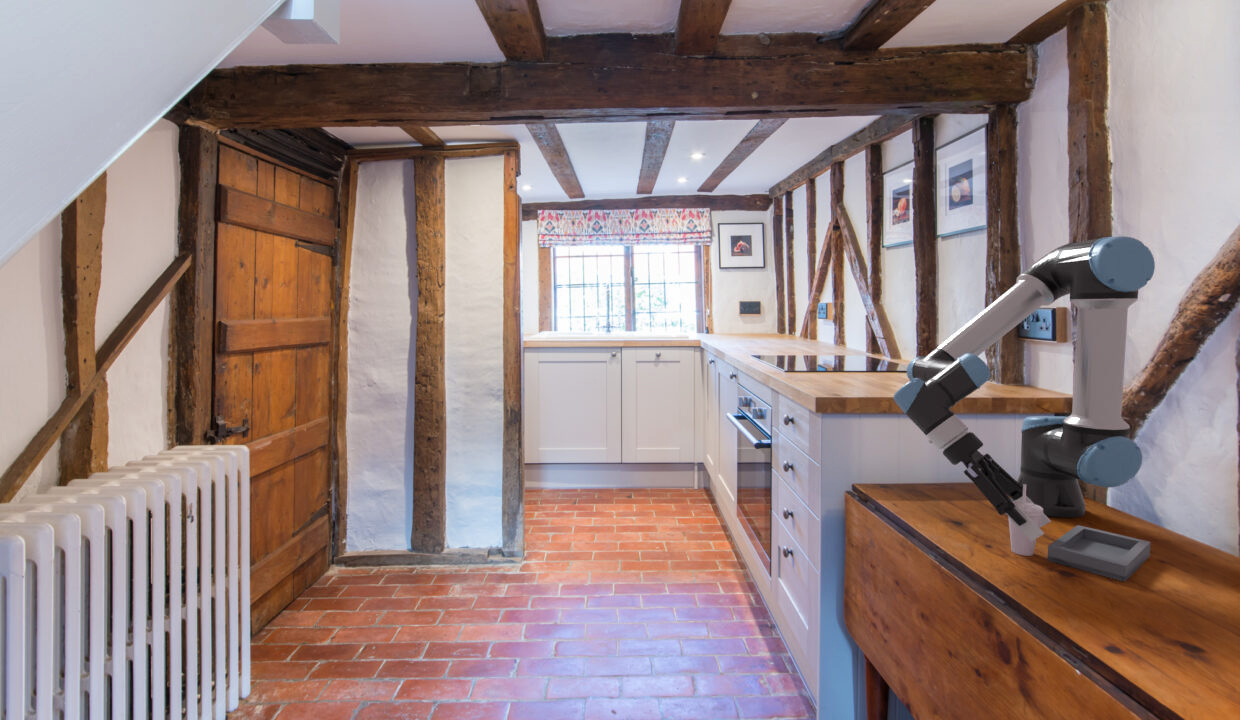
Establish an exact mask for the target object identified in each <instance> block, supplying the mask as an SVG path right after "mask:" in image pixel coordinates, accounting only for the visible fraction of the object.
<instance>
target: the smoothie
mask: <svg viewBox="0 0 1240 720" xmlns="http://www.w3.org/2000/svg"><path fill="white" fill-rule="evenodd" d="M1012 502H1013V503H1014V505H1015V506H1017V505H1018V506H1019V507H1020V508H1021V509H1022V510H1023V511H1024V512H1025V513H1026V515H1027V516H1028V517H1029V518H1030V519H1031V520H1032V521H1033V522H1034V523H1035V524H1036V525H1037V526H1038V527H1039V524H1040V519H1041V515H1043V514H1044V513H1043V508H1042V507H1041V506H1039V505H1036V504H1032V503H1028V502H1026V484H1023V498H1022V502H1020V501H1012ZM1007 517H1008V516H1007ZM1007 519H1008V526H1009V527H1008V528H1009V537H1010V538H1009V539H1010V549H1011V552H1012V553H1014V554H1017V555H1019V556H1025V557H1027V556H1028V557H1030V556H1033V555H1034V552H1035V548H1036V547H1035V546H1036V543H1037V538H1036V539H1035V540H1033V541H1031V540H1030V539H1029V538H1028V537H1027V536H1026V535H1025V534H1024V533H1023V532H1022V531H1021V530H1020V529H1019V528H1018V526H1017V525H1016V524H1015V523H1014V522H1013V521H1012V520H1011V519H1010V518H1009V517H1008V518H1007Z"/></svg>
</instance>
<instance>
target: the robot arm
mask: <svg viewBox="0 0 1240 720" xmlns="http://www.w3.org/2000/svg"><path fill="white" fill-rule="evenodd" d="M1155 263H1156V262H1155V258H1154V255H1153V253H1152V251H1151V250H1150V248H1149V247H1148V246H1146V245H1145V244H1144V243H1143V241H1141V240H1139V239H1138V238H1134V237H1131V236H1127V235H1126V236H1124V235H1123V236H1122V235H1120V236H1107V237H1104V236H1103V237H1102V238H1101V237H1100V238H1094V239H1088V240H1083V241H1074V242H1070V243H1067V244H1064V245H1061V246H1058V247H1056V248H1054V250H1052V251H1050V252H1048V253H1047V254H1045V255H1044V256H1043V257H1041V258H1040V259H1039V260H1037V261H1036V262H1035V263H1033V264H1032V265H1030V266H1029V267H1028V268H1026V269H1025V270H1024V271H1023V272H1022V273H1021V274H1019V275H1018V276H1017V277H1016V282H1015V284H1014V285H1012V286H1011V287H1010V288H1009V289H1008V290H1007V291H1005V292H1004V293H1003V294H1002V295H1000V296H998V298H997V299H995V300H994V301H992V302H991V304H989V305H988V306H986V308H984V309H983V310H982V311H980V312H979V313H978V314H976V316H974V317H973V318H971V320H969V321H968V322H967V323H965V324H964V325H963V326H962V327H960V329H958V330H957V331H956V332H955V333H953V334H952V335H951V336H950V337H948V338H947V339H946V340H945V341H943V342H942V343H941V344H940V345H938V346H937V347H936V348H934V349H933V350H932V351H930V353H928V354H927V355H922V356H918V357H915V358H913V359H912V360H911V361H909V363H908V364H907V367H906V376H907V378H908V381H907V382H906V383H905V384H904V385H903V386H901V387H900V388H899V389H898V390H897V391H896V392H895V393H894V395H893V401H894V402H895V404H896V405H897V406H898V407H899V408H900V409H901V411H902V412H903V414H904V415H906V416H907V417H908V418H909V419H910V420H911V422H913V424H915V426H916V427H918V428H919V430H920V431H922V433H923V434H924V435H925V436H926V437H927V438H928V443H929V444H933V445H934V446H935V447H936V448H937V449H938V450H942V454H943V455H942V456H943V457H945V458H946V459H947V460H948V461H949V462H950V463H951V464H952V465H954V466H955V465H958V464H959V463H962V464H963V465H964V466H965V468H966V469H965V470H964V471H963V473H964V475H965V476H966V477H967V478H968V479H970V481H971V482H972V483H973V484H974V485H975V486H976V487H977V489H979V491H980V492H981V493H982V495H983V496H984V497H985V498H986V499H987V500H988V502H989V503H990V504H991V505H992V507H994V508H995V510H996V511H997V513H998V515H999V516H1003V515H1004V514H1005V515H1006V516H1007V517H1009V518H1010V519H1011V520H1012V521H1013V522H1014V523H1015V524H1016V525H1017V526H1018V528H1019V529H1020V530H1021V531H1022V532H1023V533H1024V534H1025V535H1026V536H1027V537H1028V538H1029V539H1030V540H1031V541H1033V540H1035V539H1036V540H1037V539H1038V538H1040V537H1042V536H1044V534H1045V532H1044V531H1043V530H1042V529H1041V528H1042V527H1043V526H1046V525H1047V524H1049V523H1050V522H1051V521H1052V520H1051V519H1050V518H1049V517H1054V518H1068V519H1069V518H1071V519H1072V518H1080V517H1082V516H1083V517H1084V516H1085V514H1086V503H1085V502H1086V501H1085V498H1084V496H1083V493H1082V490H1081V487H1080V484H1079V480H1080V481H1083V482H1084V483H1086V484H1089V485H1093V486H1098V487H1102V488H1116V487H1120V486H1122V485H1125V484H1126V483H1128V482H1129V481H1130V480H1132V479H1134V478H1135V477H1136V475H1137V474H1139V471H1140V470H1141V467H1142V464H1143V453H1142V450H1141V448H1140V446H1138V444H1137V443H1136V442H1135V441H1134V440H1132V439H1131V438H1130V429H1131V427H1130V424H1128V422H1126V421H1125V420H1124V419H1123V417H1122V408H1123V395H1124V394H1123V392H1124V379H1125V377H1124V376H1125V363H1126V362H1125V361H1126V345H1127V329H1128V328H1127V327H1128V311H1129V308H1130V307H1131V306H1132V305H1133V304H1134V303H1136V302H1137V301H1138V300H1139V290H1141V289H1142V288H1143V287H1145V286H1147V284H1148V282H1149V281H1151V280H1152V278H1153V275H1154V272H1155V270H1156V269H1155V268H1156V264H1155ZM1067 295H1069V302H1070V303H1071V304H1073V305H1074V306H1075V307H1076V309H1077V319H1076V320H1077V321H1076V335H1075V336H1076V337H1075V354H1074V356H1075V357H1074V372H1073V373H1074V374H1073V389H1072V391H1073V393H1072V409H1071V411H1072V412H1071V414H1070V415H1069V416H1062V415H1061V416H1058V415H1056V416H1055V415H1054V416H1053V415H1049V416H1048V415H1037V416H1036V415H1033V416H1032V415H1030V416H1026V417H1025V418H1024V419H1023V421H1022V427H1021V431H1020V432H1021V445H1020V447H1021V448H1020V466H1019V467H1020V471H1019V472H1020V473H1019V476H1018V478H1017V480H1015V478H1014V477H1012V476H1011V475H1010V474H1009V473H1008V472H1007V471H1006V470H1005V469H1004V468H1003V467H1002V466H1000V465H999V464H998V462H996V460H994V459H993V457H992V456H991V455H990V454H989V453H985V454H983V453H981V452H980V451H978V450H979V449H981V448H982V447H983V446H984V443H983V441H982V440H980V438H979V437H978V436H977V435H976V434H975V433H974V432H971V431H968V430H969V426H967V425H966V424H965V422H963V421H962V420H961V419H960V417H958V416H957V415H956V414H955V412H953V411H952V410H951V408H952V407H954V406H955V405H957V403H959V402H961V401H962V400H963V399H965V398H967V397H968V396H969V395H971V394H972V393H974V392H975V391H976V390H978V389H980V388H981V387H982V386H983V385H984V384H985V383H986V382H988V381H989V380H990V379H991V375H992V373H991V370H990V368H989V366H988V365H987V363H986V362H985V361H984V360H983V359H982V358H981V357H979V356H980V355H981V354H982V353H984V352H985V351H986V350H988V349H989V348H990V347H991V346H993V345H994V344H995V343H996V342H998V341H999V340H1000V339H1002V338H1003V337H1004V336H1005V335H1006V334H1008V333H1009V332H1010V331H1011V330H1013V329H1014V328H1016V327H1017V326H1018V325H1019V324H1020V323H1022V322H1023V321H1024V320H1026V318H1028V317H1029V316H1031V315H1032V314H1033V313H1034V312H1035V311H1037V310H1038V309H1039V308H1040V307H1042V306H1047V307H1048V306H1050V305H1052V304H1053V303H1054V302H1055V301H1057V300H1059V299H1060V298H1062V297H1065V296H1067ZM1023 484H1026V502H1028V503H1032V504H1036V505H1039V506H1041V507H1042V508H1043V513H1044V514H1043V515H1041V519H1040V524H1039V527H1038V526H1037V525H1036V524H1035V523H1034V522H1033V521H1032V520H1031V519H1030V518H1029V517H1028V516H1027V515H1026V513H1025V512H1024V511H1023V510H1022V509H1021V508H1020V507H1019V506H1018V505H1017V506H1015V505H1014V503H1013V502H1012V501H1020V502H1022V498H1023Z"/></svg>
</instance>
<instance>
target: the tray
mask: <svg viewBox="0 0 1240 720" xmlns="http://www.w3.org/2000/svg"><path fill="white" fill-rule="evenodd" d="M1151 543H1152V542H1151V541H1148V540H1143V539H1139V538H1136V537H1132V536H1127V535H1122V534H1118V533H1113V532H1111V531H1110V532H1109V531H1105V530H1101V529H1098V528H1093V527H1089V526H1088V527H1087V526H1083V525H1079V524H1077V525H1076V526H1074V527H1072V528H1071V529H1070V530H1069V531H1067V532H1066V533H1064V534H1063V535H1062V536H1060V537H1059V538H1057V539H1056V540H1054V541H1053V542H1051V543H1050V544H1049V545H1047V558H1046V559H1047V561H1048V562H1052V563H1055V564H1059V565H1062V566H1065V567H1070V568H1073V569H1075V570H1076V569H1077V570H1080V571H1083V572H1087V573H1090V574H1094V575H1098V574H1099V575H1098V576H1101V575H1102V576H1101V577H1105V576H1106V578H1108V577H1110V578H1109V579H1112V578H1113V579H1112V580H1115V579H1117V580H1116V581H1119V580H1120V581H1119V582H1123V581H1124V582H1123V583H1126V582H1125V581H1126V580H1127V579H1128V580H1129V579H1130V578H1131V576H1133V574H1134V573H1135V572H1136V571H1137V570H1138V569H1139V568H1140V567H1141V566H1142V565H1143V564H1144V563H1145V562H1146V561H1147V560H1148V559H1149V558H1150V557H1151V545H1152V544H1151ZM1148 557H1149V558H1148ZM1141 564H1142V565H1141ZM1128 580H1127V581H1128Z"/></svg>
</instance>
